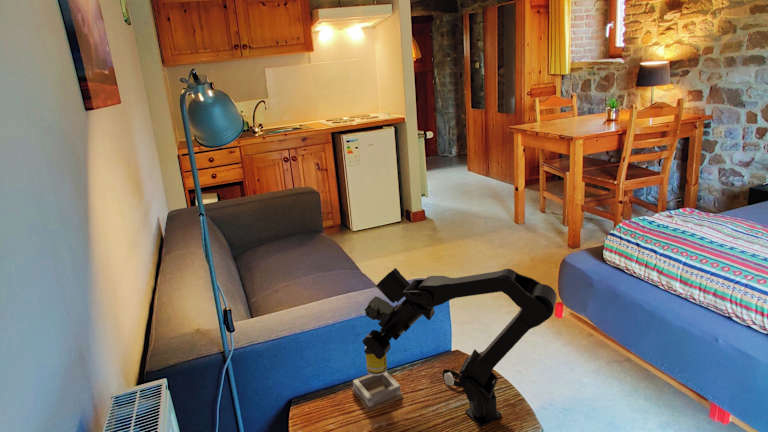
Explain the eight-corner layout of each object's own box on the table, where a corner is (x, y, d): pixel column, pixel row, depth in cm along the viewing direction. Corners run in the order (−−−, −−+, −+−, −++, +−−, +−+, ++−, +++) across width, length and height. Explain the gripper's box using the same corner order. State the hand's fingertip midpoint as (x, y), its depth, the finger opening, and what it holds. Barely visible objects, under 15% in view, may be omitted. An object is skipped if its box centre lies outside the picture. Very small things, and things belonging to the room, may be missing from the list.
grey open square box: (402, 397, 130) (401, 385, 129) (368, 411, 125) (367, 399, 125) (384, 378, 138) (383, 367, 137) (352, 391, 134) (351, 380, 133)
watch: (438, 379, 136) (437, 368, 135) (451, 373, 139) (450, 361, 138) (457, 392, 130) (456, 380, 129) (470, 385, 133) (469, 373, 132)
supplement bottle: (388, 375, 128) (385, 341, 126) (367, 377, 128) (364, 344, 125) (386, 363, 133) (383, 331, 131) (366, 366, 133) (363, 333, 130)
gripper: (398, 276, 131) (365, 309, 138) (366, 307, 115) (330, 342, 122) (427, 306, 129) (393, 338, 137) (399, 342, 113) (362, 375, 121)
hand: (370, 347), depth 129 cm, fingers closed on supplement bottle, 5 cm apart
